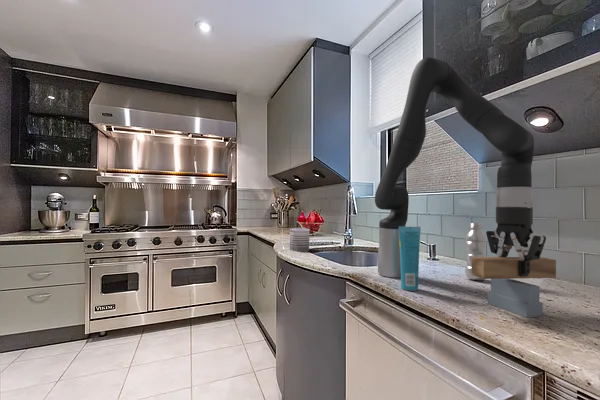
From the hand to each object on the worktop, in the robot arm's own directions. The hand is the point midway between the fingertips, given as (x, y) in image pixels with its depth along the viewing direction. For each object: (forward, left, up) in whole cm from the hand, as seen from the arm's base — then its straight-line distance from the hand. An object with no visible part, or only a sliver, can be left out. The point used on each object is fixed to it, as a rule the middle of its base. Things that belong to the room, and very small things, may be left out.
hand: (513, 273), depth 72 cm
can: (-102, -28, -9) cm, 106 cm away
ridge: (0, 0, -9) cm, 9 cm away
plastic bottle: (-26, +16, -9) cm, 32 cm away
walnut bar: (0, 0, -1) cm, 1 cm away
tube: (-21, -15, -9) cm, 27 cm away
